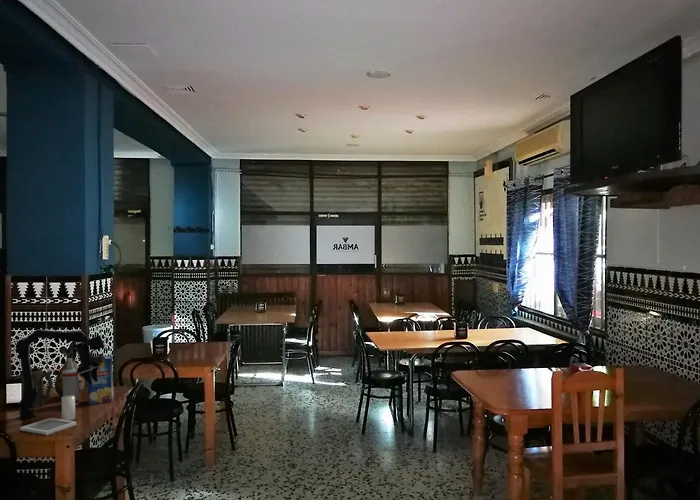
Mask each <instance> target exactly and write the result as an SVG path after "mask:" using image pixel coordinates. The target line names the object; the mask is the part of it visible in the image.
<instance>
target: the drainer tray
mask: <svg viewBox="0 0 700 500" xmlns="http://www.w3.org/2000/svg"><path fill="white" fill-rule="evenodd" d="M74 426H77V421H76V420H75V421H73V420H62V418H56V417H55V418H54V417H49V418H45V419H43V420H39V421H36V422H32V423H30V424H27V425H22V426H20V428H19V429H20V430H19V431H22V432H25V431H26V433H32V434H36V435H42V436H48V435H52V434H55V433H57V432H60V431H63V430H66V429H70V428H73V427H74Z"/></svg>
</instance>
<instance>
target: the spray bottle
mask: <svg viewBox="0 0 700 500" xmlns="http://www.w3.org/2000/svg"><path fill="white" fill-rule="evenodd" d="M62 375H63V396H67V395H75V406H78V405H79V404H80V396H79V395H80V394H79V384H78V372H77V370H76V369H74V367H73V362H72V358H68V363H67V369H66V370H65V371H63V372H62Z"/></svg>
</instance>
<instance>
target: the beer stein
mask: <svg viewBox="0 0 700 500" xmlns="http://www.w3.org/2000/svg"><path fill="white" fill-rule="evenodd" d="M31 372H32V379H33V384H34V386H37V385H38V392H39V393H38V395H37V398H36V400H35V401H34V402H33V403H32V404H33V409H35V408H39V407H42V406H44V405H45V401H44V400H50V399H51V398H52V396H51V395H50V394H51V391H52V389H53V379H52V375H51V372H50V371H47V372H45V373H44V372H43V368H39V367H33V368H32V367H31ZM21 376H22V379H21V380H22V385H21V386H22V387H21V388H22V393H21V399H22V398H23V391H24V380H23V373H22V372H21ZM44 378H46V379H47V389H46V393H45V388H44V387H45V386H44V385H45V384H44Z"/></svg>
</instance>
